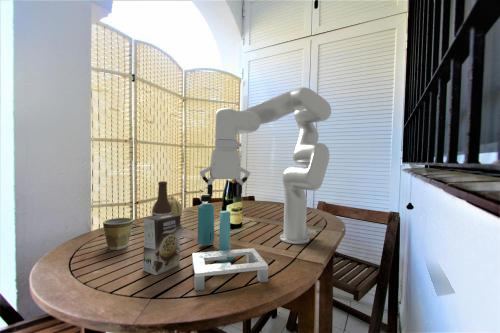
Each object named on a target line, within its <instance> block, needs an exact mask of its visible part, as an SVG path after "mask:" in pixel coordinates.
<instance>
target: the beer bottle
mask: <svg viewBox="0 0 500 333" xmlns="http://www.w3.org/2000/svg"><path fill="white" fill-rule="evenodd" d="M157 184H158V190H157V199H156V201H157V202H156V201H155V202H156V203H155V202H154V204H155V205H154V204H153V205H154V207H153V206H152V207H153V216H156V215H161V214H166V213H169V214H172V207H171V204H170V203H169V201H168V198H167V197H168V187H167V185H168V181H166V180H165V181H158V183H157Z"/></svg>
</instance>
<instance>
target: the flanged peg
mask: <svg viewBox="0 0 500 333" xmlns="http://www.w3.org/2000/svg"><path fill="white" fill-rule="evenodd" d="M218 238H219V240H218V241H219V242H218V243H219V244H218V251H225V250H231V249H230V248H231V211H230V210H221V211H219V236H218ZM234 259H235V256H231V257H227V259H222V260H215V261H216V262H217V263H218V262H219V263H231V262H232V261H234Z"/></svg>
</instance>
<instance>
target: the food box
mask: <svg viewBox="0 0 500 333" xmlns="http://www.w3.org/2000/svg"><path fill="white" fill-rule="evenodd" d="M180 216H181V217H182V215H176V214H169V213H166V214H161V215H156V216H152V215H151V216H147V217H144V220H143V222H144V224H143V226H144V227H143V255H142V256H143V258H142V259H143V260H142V261H143V262H142V263H143V264H142V266H143V267H142V271H144V272H147V273H149V274H151V275H154V276H158V275H159V274H163V273H165V272H167V271H169V270H171V269H173V268H176V267H179V266H180V263H181V262H180V260H181V258H180V257H181V256H180V255H181V217H180Z"/></svg>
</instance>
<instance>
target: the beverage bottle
mask: <svg viewBox="0 0 500 333" xmlns="http://www.w3.org/2000/svg"><path fill="white" fill-rule="evenodd" d="M200 196H201V197H200V201H201V202H204V203H201V204H200V205H199V206H198V207H197V243H198V245H201V246H209V245H213V244H214V243H215V221H216V220H215V205H213V203H209V202H212V201H213V199H212V197H210V196H209V194H203V195H200ZM205 202H206V203H205ZM207 202H208V203H207Z"/></svg>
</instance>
